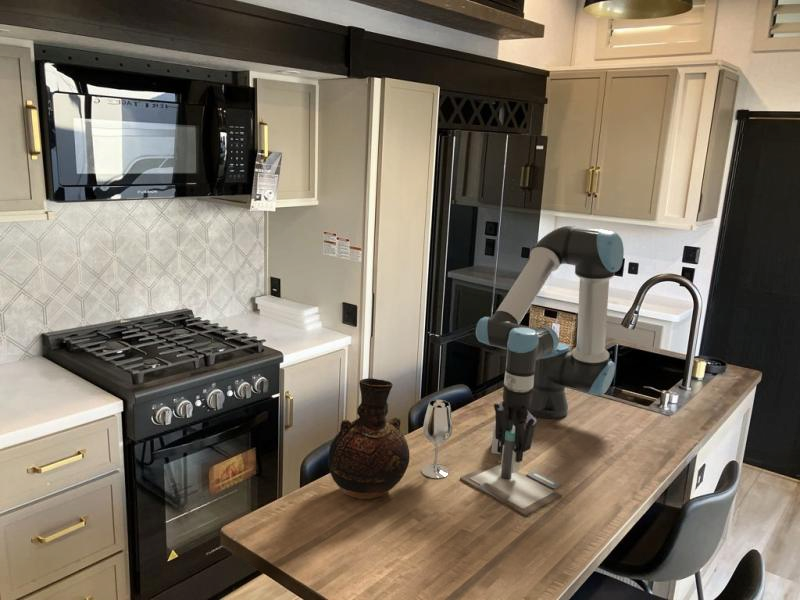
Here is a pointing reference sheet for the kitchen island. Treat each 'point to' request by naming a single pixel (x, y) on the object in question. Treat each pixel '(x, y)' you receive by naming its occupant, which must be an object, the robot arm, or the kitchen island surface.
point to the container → (497, 442)
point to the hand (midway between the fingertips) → (509, 468)
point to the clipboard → (511, 489)
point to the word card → (544, 480)
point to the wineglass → (437, 434)
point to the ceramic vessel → (369, 446)
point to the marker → (508, 454)
